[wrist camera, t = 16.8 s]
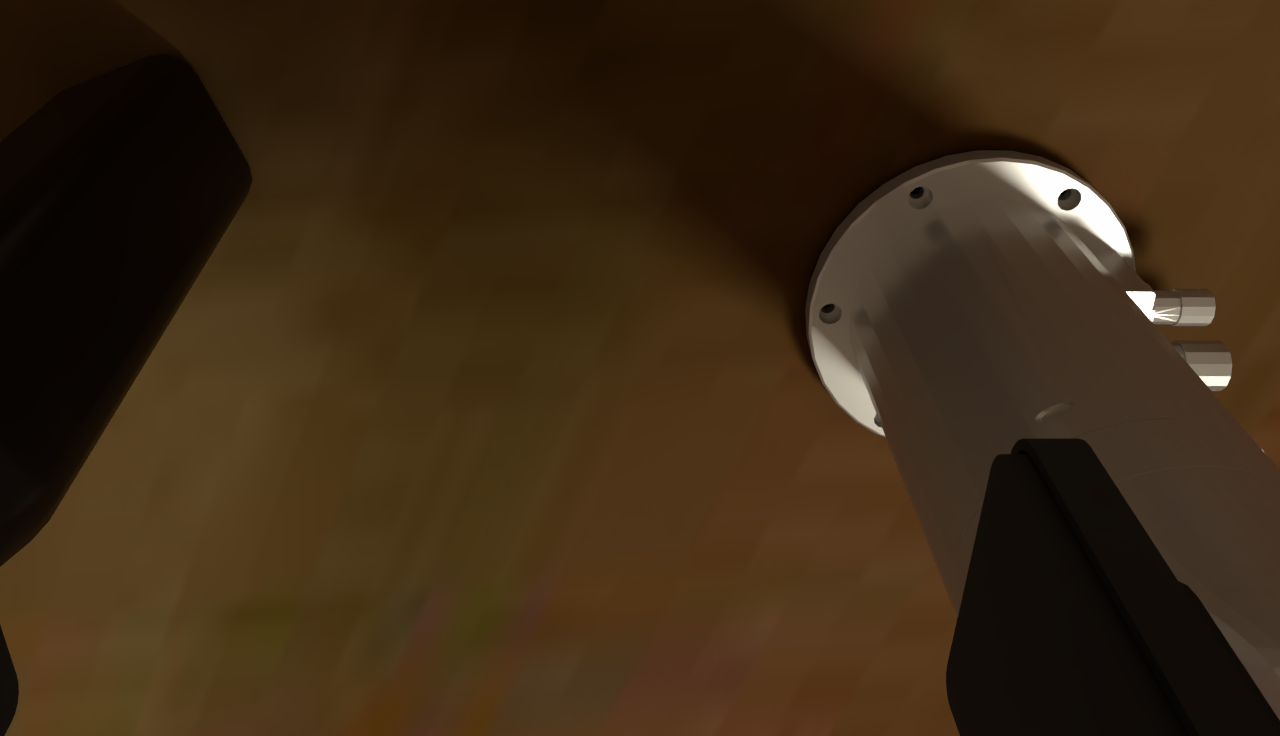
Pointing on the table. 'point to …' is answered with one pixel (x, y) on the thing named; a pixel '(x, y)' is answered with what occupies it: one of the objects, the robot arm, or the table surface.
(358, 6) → the table surface
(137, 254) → the wine bottle
